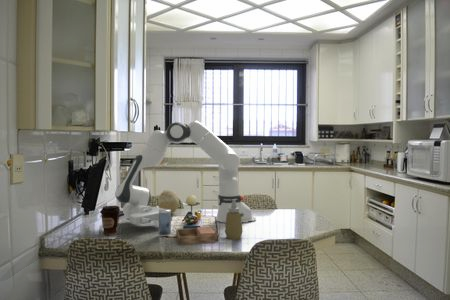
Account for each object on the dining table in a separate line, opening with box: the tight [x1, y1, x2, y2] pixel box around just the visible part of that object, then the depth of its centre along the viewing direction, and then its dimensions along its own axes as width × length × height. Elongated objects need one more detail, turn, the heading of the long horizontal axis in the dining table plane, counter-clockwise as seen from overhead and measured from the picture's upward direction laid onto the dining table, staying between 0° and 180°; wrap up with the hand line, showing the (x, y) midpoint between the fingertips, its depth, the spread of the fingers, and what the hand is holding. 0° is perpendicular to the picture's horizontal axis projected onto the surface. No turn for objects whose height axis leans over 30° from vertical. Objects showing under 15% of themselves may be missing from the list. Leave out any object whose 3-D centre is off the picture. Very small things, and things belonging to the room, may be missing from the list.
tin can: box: [158, 209, 172, 238], centre depth 146 cm, size 6×6×12 cm
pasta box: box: [196, 226, 216, 236], centre depth 141 cm, size 6×10×4 cm, turn 15°
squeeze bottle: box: [224, 200, 243, 241], centre depth 141 cm, size 8×8×18 cm
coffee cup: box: [100, 205, 121, 236], centre depth 148 cm, size 9×8×13 cm
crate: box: [175, 226, 219, 245], centre depth 140 cm, size 17×13×4 cm
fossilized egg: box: [157, 188, 180, 214], centre depth 189 cm, size 13×13×15 cm
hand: (157, 219), depth 151 cm, fingers open, 8 cm apart
